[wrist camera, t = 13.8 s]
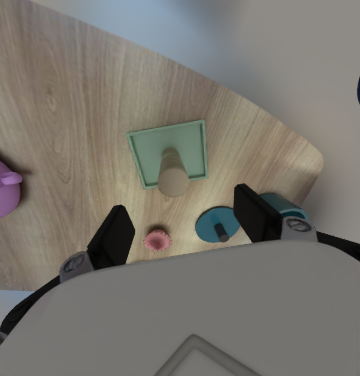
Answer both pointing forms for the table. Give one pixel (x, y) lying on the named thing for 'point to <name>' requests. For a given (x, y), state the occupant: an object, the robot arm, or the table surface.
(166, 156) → the stick
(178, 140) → the tray
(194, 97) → the table surface
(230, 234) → the pot lid
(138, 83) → the table surface
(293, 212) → the pot
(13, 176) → the teapot
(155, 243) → the flower
